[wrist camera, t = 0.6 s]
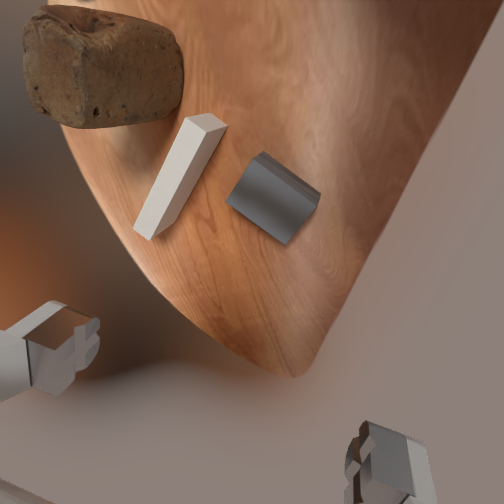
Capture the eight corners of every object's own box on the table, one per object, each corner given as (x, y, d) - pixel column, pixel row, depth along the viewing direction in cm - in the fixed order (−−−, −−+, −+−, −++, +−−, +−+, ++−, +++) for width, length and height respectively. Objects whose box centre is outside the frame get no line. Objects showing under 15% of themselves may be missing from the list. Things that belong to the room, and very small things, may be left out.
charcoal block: (263, 150, 48) (252, 158, 43) (321, 193, 48) (317, 206, 43) (238, 190, 51) (225, 201, 46) (291, 229, 52) (285, 245, 47)
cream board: (210, 112, 47) (185, 117, 40) (228, 125, 47) (206, 132, 40) (159, 211, 56) (132, 228, 49) (174, 221, 56) (149, 240, 49)
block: (179, 121, 49) (84, 140, 32) (133, 105, 50) (14, 115, 32) (193, 34, 44) (87, 0, 26) (140, 18, 45) (4, -25, 27)
